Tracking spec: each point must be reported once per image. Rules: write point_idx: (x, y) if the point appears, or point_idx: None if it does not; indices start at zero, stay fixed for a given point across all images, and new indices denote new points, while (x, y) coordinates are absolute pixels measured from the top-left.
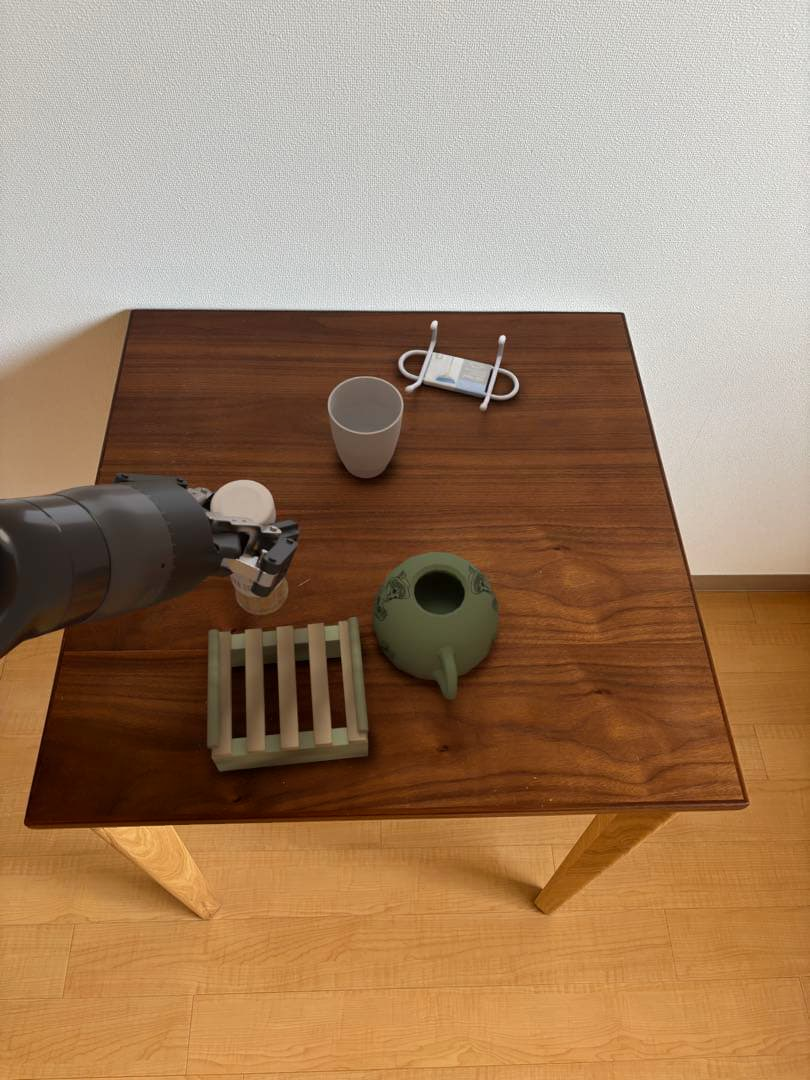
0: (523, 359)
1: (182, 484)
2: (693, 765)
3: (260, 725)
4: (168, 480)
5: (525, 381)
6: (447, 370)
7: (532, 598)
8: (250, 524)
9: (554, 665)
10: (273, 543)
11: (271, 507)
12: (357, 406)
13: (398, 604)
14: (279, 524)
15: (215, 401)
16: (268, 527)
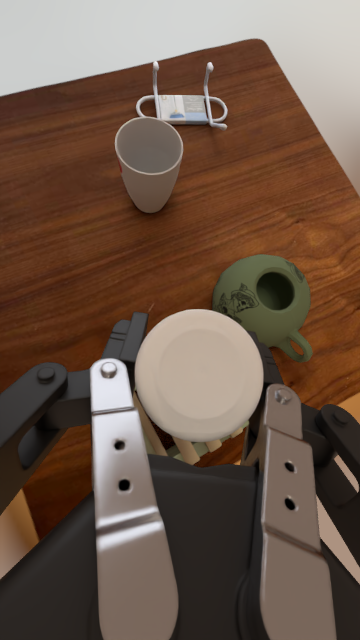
0: (218, 86)
1: (58, 387)
2: None
3: (188, 443)
4: (21, 404)
5: (227, 103)
6: (174, 107)
7: (297, 261)
8: (308, 467)
9: (328, 301)
10: (308, 433)
11: (259, 354)
12: (133, 152)
13: (252, 312)
14: None
15: (10, 184)
16: (277, 400)
